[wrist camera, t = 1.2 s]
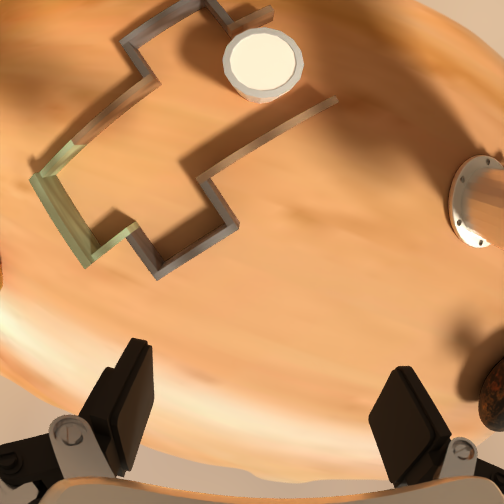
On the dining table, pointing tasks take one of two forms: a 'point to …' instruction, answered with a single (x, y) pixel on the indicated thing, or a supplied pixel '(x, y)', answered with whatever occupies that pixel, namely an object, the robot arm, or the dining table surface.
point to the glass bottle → (493, 399)
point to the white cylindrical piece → (262, 64)
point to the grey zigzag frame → (47, 180)
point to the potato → (1, 278)
